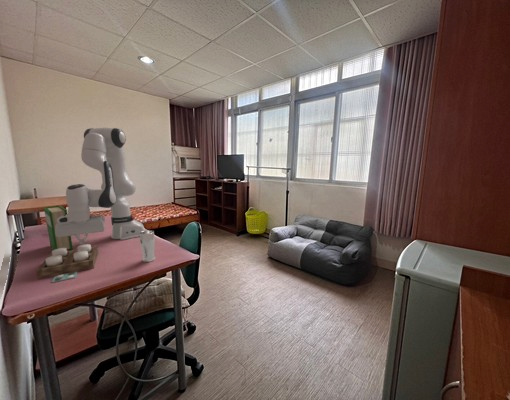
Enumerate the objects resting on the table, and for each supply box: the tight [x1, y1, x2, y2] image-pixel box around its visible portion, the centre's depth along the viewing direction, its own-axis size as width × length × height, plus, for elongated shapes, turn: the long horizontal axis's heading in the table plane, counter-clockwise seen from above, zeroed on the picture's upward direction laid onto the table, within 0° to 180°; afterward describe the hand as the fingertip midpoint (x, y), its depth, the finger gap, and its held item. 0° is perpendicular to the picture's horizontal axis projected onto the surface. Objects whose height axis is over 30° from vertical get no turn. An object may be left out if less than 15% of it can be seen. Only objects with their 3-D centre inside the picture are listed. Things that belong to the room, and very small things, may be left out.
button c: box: [73, 251, 89, 262], centre depth 107 cm, size 6×6×3 cm
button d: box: [44, 255, 63, 267], centre depth 102 cm, size 6×6×3 cm
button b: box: [51, 248, 68, 257], centre depth 111 cm, size 6×6×3 cm
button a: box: [76, 243, 92, 253], centre depth 116 cm, size 6×6×3 cm
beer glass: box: [139, 229, 156, 263], centre depth 114 cm, size 7×7×15 cm
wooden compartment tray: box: [36, 246, 99, 280], centre depth 110 cm, size 20×20×4 cm
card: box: [51, 271, 79, 284], centre depth 98 cm, size 8×6×1 cm
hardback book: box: [43, 205, 73, 251], centre depth 129 cm, size 18×7×24 cm, turn 50°
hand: (82, 242), depth 115 cm, fingers closed
